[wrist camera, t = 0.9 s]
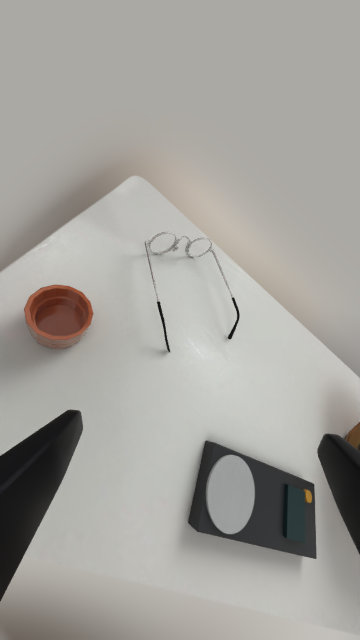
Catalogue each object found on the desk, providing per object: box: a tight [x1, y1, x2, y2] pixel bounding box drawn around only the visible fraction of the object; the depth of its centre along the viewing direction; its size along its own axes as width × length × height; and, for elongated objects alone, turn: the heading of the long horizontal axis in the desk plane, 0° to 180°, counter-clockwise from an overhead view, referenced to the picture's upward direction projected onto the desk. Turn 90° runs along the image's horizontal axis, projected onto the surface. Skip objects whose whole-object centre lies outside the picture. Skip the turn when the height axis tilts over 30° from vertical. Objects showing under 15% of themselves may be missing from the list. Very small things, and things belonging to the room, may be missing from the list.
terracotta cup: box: [24, 285, 93, 348], centre depth 23 cm, size 6×6×4 cm
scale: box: [188, 441, 316, 559], centre depth 29 cm, size 22×9×3 cm, turn 70°
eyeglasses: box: [145, 232, 239, 352], centre depth 34 cm, size 16×19×5 cm
